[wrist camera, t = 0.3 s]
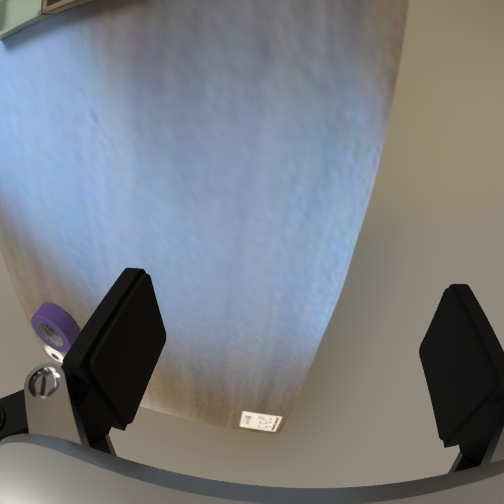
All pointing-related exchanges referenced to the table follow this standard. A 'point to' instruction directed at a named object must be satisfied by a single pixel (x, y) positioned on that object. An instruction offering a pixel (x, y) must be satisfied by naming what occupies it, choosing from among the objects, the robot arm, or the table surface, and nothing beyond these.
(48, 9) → the wood frame
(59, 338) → the tape roll
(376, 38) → the table surface
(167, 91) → the table surface
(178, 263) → the table surface
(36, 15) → the green tray
